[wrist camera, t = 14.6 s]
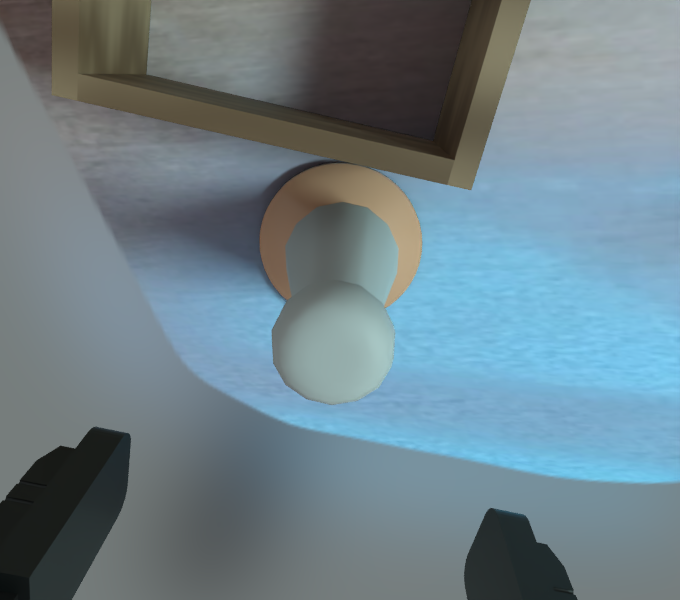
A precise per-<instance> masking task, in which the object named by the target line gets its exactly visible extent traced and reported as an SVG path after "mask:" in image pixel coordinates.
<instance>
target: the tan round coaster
mask: <svg viewBox="0 0 680 600" xmlns="http://www.w3.org/2000/svg"><path fill="white" fill-rule="evenodd" d="M339 202H346V203H350V204H355V205H359V206H363V207H367V208H369V209H370V210H371V211H372V212H373V213H375V214H376V215H377V216H378V217H379V218H381V219H382V220H383V221H384V222H385V223H387V224H388V226H389V228H390V230H391V233H392V235H393V237H394V239H395V242H396V244H397V246H398V248H399V250H398V267H397V274H396V277H395V280H394V282H393V285H392V287H391V290H390V292H389V295H388V297H387V300H386V302H385V305H384V307H385V308H386V307H388V306H390V305H391V304H392V303H393V302H395V301H396V300H397V299H398V298H399V297H400V296H401V295H402V294H403V293H404V292H405V290H406V289H407V288H408V286H409V285H410V283H411V282H412V280H413V278H414V276H415V274H416V272H417V269H418V266H419V263H420V258H421V252H422V233H421V228H420V223H419V220H418V217H417V215H416V212H415V210H414V208H413V206H412V204H411V202H410V200H409V199H408V197H407V196H406V194H405V193H404V192H403V191H402V190H401V189H400V187H399V186H398V185H397V184H396V183H394V182H393V181H392V180H391V179H389V178H388V177H387V176H385V175H383V174H382V173H380V172H378V171H376V170H374V169H372V168H369V167H366V166H362V165H358V164H353V163H346V162H335V163H326V164H322V165H318V166H314V167H312V168H309V169H307V170H304V171H303V172H301V173H299V174H297V175H296V176H294V177H293V178H292V179H290V180H289V181H288V182H287V183H286V184H285V185H284V186H283V187H282V188H281V189H280V190H279V191H278V192H277V194H276V195H275V196H274V198H273V199H272V200H271V202H270V204H269V206H268V208H267V210H266V212H265V215H264V217H263V220H262V225H261V229H260V239H259V240H260V253H261V259H262V262H263V265H264V268H265V271H266V273H267V275H268V277H269V279H270V281H271V282H272V284H273V285H274V287H275V288H276V289H277V291H278V292H279V293H280V294H281V295H282V296H283V297H284V298H285V299H286V300H288V299H290V298H291V297H292V296H291V291H290V286H289V280H288V275H287V269H286V251H285V245H286V243H287V241H288V239H289V237H290V235H291V233H292V231H293V229H294V227H295V225H296V224H297V223H298V222H299V221H300V220H302V219H303V218H304V217H305V216H307V215H308V214H309V213H310V212H311V211H313V210H314V209H315V208H317V207H319V206H324V205H329V204H334V203H339Z"/></svg>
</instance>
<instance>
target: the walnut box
mask: <svg viewBox="0 0 680 600" xmlns="http://www.w3.org/2000/svg"><path fill="white" fill-rule="evenodd" d="M530 1H531V0H472V1H471V5H470V8H469V12H468V16H467V19H466V23H465V27H464V30H463V34H462V37H461V41H460V45H459V48H458V52H457V56H456V59H455V63H454V66H453V70H452V74H451V77H450V81H449V85H448V88H447V92H446V96H445V99H444V103H443V106H442V110H441V114H440V117H439V121H438V125H437V128H436V132H435V135H434V139H433V141H431V140H427V139H423V138H419V137H414V136H410V135H406V134H401V133H397V132H393V131H388V130H384V129H380V128H375V127H371V126H367V125H362V124H358V123H354V122H349V121H345V120H341V119H336V118H332V117H328V116H323V115H319V114H315V113H310V112H306V111H302V110H297V109H293V108H289V107H284V106H280V105H276V104H271V103H267V102H263V101H258V100H254V99H250V98H245V97H241V96H237V95H232V94H228V93H224V92H220V91H215V90H211V89H207V88H202V87H198V86H194V85H189V84H185V83H181V82H176V81H172V80H168V79H163V78H159V77H155V76H150V75H146V71H147V56H148V41H149V26H150V11H151V0H52V95H54V96H59V97H63V98H68V99H72V100H76V101H81V102H85V103H89V104H94V105H98V106H103V107H107V108H111V109H116V110H120V111H125V112H129V113H133V114H138V115H142V116H147V117H151V118H155V119H160V120H164V121H169V122H173V123H177V124H182V125H186V126H191V127H195V128H199V129H204V130H208V131H213V132H217V133H221V134H226V135H230V136H235V137H239V138H243V139H248V140H252V141H257V142H261V143H265V144H270V145H274V146H279V147H283V148H287V149H292V150H296V151H301V152H305V153H309V154H314V155H318V156H322V157H327V158H331V159H336V160H340V161H344V162H349V163H353V164H358V165H362V166H366V167H371V168H375V169H380V170H384V171H388V172H393V173H397V174H402V175H406V176H410V177H415V178H419V179H424V180H428V181H432V182H437V183H441V184H446V185H450V186H454V187H459V188H463V189H468V190H471V189H472V186H473V183H474V179H475V176H476V173H477V170H478V167H479V164H480V160H481V157H482V154H483V151H484V148H485V144H486V141H487V138H488V135H489V132H490V129H491V125H492V122H493V119H494V116H495V113H496V109H497V106H498V103H499V100H500V97H501V93H502V90H503V87H504V84H505V81H506V78H507V74H508V71H509V68H510V65H511V62H512V58H513V55H514V52H515V49H516V46H517V42H518V39H519V36H520V33H521V30H522V27H523V23H524V20H525V17H526V14H527V11H528V7H529V4H530Z"/></svg>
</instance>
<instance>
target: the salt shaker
mask: <svg viewBox="0 0 680 600" xmlns="http://www.w3.org/2000/svg"><path fill="white" fill-rule="evenodd" d="M398 250H399V248H398V246H397V244H396V242H395V239H394V237H393V235H392V233H391V230H390V228H389V226H388V224H387V223H385V222H384V221H383V220H382V219H381V218H379V217H378V216H377V215H376V214H375V213H373V212H372V211H371V210H370V209H369V208H367V207H363V206H359V205H355V204H350V203H346V202H339V203H334V204H329V205H324V206H319V207H317V208H315V209H314V210H313V211H311V212H310V213H309V214H308V215H307V216H305V217H304V218H303V219H302V220H300V221H299V222H298V223H297V224H296V225H295V227H294V229H293V231H292V233H291V235H290V237H289V239H288V241H287V243H286V245H285V251H286V269H287V275H288V280H289V286H290V291H291V296H292V297H291V298H290V299H288V300H287V301H286V303H285V305H284V307H283V309H282V311H281V313H280V315H279V317H278V319H277V321H276V323H275V325H274V327H273V328H272V348H273V364H274V365H275V367H276V369H277V371H278V372H279V374H280V376H281V378H282V379H283V381H284V383H285V385H287V386H288V387H290V388H291V389H293V390H294V391H295V392H297V393H298V394H300V395H301V396H303V397H304V398H306V399H308V400H312V401H317V402H321V403H325V404H329V405H335V404H341V403H347V402H353V401H358V400H359V399H361V398H363V397H364V396H366V395H367V394H369V393H371V392H372V391H374V390H376V389H377V388H379V386H380V385H381V383H382V381H383V380H384V378H385V376H386V375H387V373H388V371H389V370H390V368H391V366H392V362H393V358H394V343H395V330H394V326H393V324H392V321H391V319H390V317H389V315H388V313H387V311H386V309H385V307H384V305H385V302H386V300H387V297H388V295H389V292H390V290H391V287H392V285H393V282H394V280H395V277H396V274H397V267H398Z"/></svg>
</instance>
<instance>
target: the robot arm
mask: <svg viewBox="0 0 680 600" xmlns="http://www.w3.org/2000/svg"><path fill="white" fill-rule="evenodd" d="M130 443H131V438H130V434H129V433H124V432H119V431H114V430H109V429H104V428H99V427H93V428H92V429H91V430H90V431H89V432H88V433H87V434H86V435H85V437H84V438H83V439H82V441H81V442H80V443H79V445H78V446H77V447H76V448H75V449H74V448H69V447H64V446H59V447H58V448H56V449H55V450H53V451H52V452H50V453H48V454H46V455H45V456H43V457H41V458H40V459H38V460H37V461H36V462H35V463H34V464H33V465H32V467H31V468H30V469H29V470H28V471H27V472H26V474H25V475H24V476H23V477H22V478H21V480H20V482H19V484H16V485H15V486H14V488H13V489H12V490H11V491H10V492H9V494H8V495H7V496H6V499H5V501H2V502H1V503H0V600H72V598H73V596H74V595H75V593H76V591H77V589H78V587H79V586H80V584H81V582H82V580H83V578H84V577H85V575H86V573H87V571H88V569H89V568H90V566H91V564H92V562H93V561H94V559H95V557H96V555H97V553H98V552H99V550H100V548H101V546H102V544H103V543H104V541H105V539H106V537H107V535H108V534H109V532H110V530H111V528H112V526H113V525H114V523H115V521H116V519H117V517H118V515H119V513H120V511H121V509H122V506H123V503H124V500H125V496H126V492H127V486H128V472H129V458H130ZM464 581H465V589H466V594H467V599H468V600H577V597H576V595H574V594H573V588H572V585H571V583H570V580H569V578H568V575H567V573H566V570H565V568H564V566H563V565H562V564H561V562H560V561H559V560H558V558H557V557H556V556H555V554H554V553H553V552H552V551H551V549H550V548H549V547H548V545H546V544H542V543H537V542H536V539H535V537H534V534H533V531H532V529H531V526H530V523H529V521H528V519H527V517H526V516H525V515H523V514H518V513H512V512H508V511H503V510H498V509H493V508H490V509H489V510H488V511H487V512H486V514H485V516H484V519H483V521H482V523H481V525H480V528H479V530H478V532H477V535H476V537H475V540H474V542H473V544H472V546H471V549H470V551H469V553H468V556H467V559H466V563H465V572H464Z"/></svg>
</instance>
